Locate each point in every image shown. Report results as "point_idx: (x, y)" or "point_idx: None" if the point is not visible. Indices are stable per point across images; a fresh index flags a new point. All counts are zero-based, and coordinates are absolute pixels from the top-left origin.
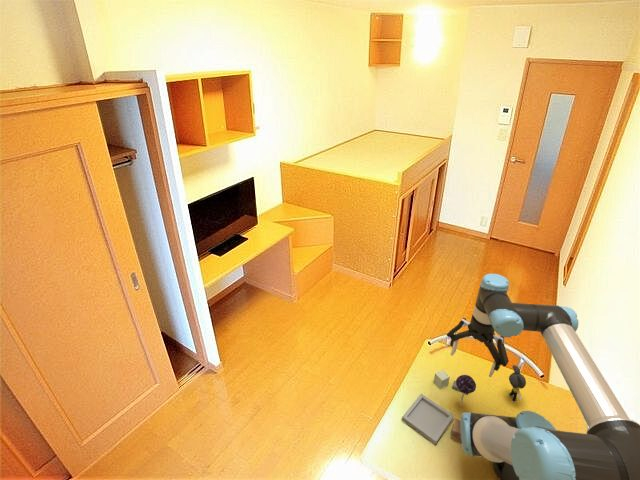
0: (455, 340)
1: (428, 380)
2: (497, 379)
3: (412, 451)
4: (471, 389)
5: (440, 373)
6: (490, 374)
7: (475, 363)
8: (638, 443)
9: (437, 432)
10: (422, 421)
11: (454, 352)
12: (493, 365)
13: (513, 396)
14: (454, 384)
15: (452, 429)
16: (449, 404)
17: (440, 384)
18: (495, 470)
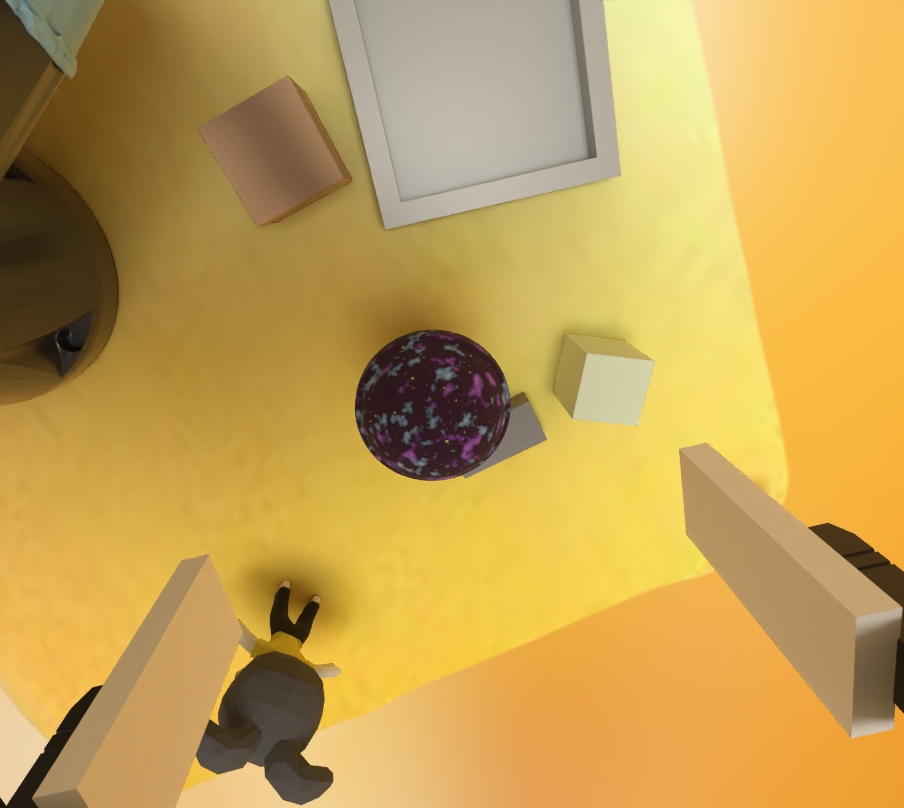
0: (888, 659)
1: (648, 321)
2: (414, 630)
3: None
4: (364, 391)
5: (629, 389)
6: (179, 585)
7: (544, 622)
8: None
9: (372, 45)
10: (482, 19)
11: (695, 506)
12: (88, 740)
13: (284, 608)
14: (527, 418)
15: (292, 83)
16: (463, 292)
17: (580, 342)
18: (20, 150)
